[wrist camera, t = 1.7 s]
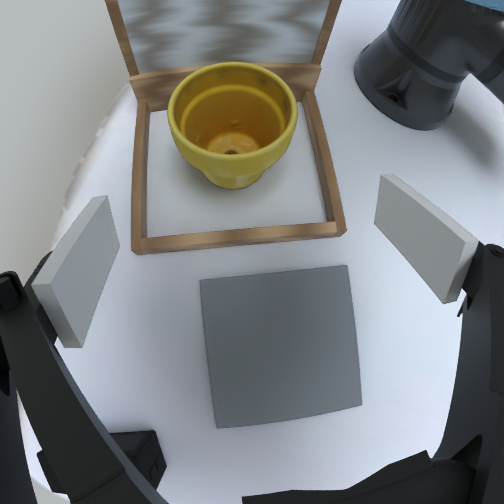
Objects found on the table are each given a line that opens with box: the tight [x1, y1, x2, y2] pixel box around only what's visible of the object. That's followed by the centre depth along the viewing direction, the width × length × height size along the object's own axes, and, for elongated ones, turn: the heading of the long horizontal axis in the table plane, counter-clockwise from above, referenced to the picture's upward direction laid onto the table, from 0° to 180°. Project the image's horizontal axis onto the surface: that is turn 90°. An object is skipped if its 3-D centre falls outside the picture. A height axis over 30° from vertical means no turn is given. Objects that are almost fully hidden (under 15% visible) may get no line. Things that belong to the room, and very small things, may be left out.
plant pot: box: [167, 62, 298, 189], centre depth 27 cm, size 10×10×10 cm
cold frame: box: [105, 0, 347, 255], centre depth 23 cm, size 20×19×18 cm
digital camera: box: [37, 430, 167, 494], centre depth 21 cm, size 10×5×7 cm, turn 102°
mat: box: [200, 265, 362, 428], centre depth 28 cm, size 14×14×1 cm
